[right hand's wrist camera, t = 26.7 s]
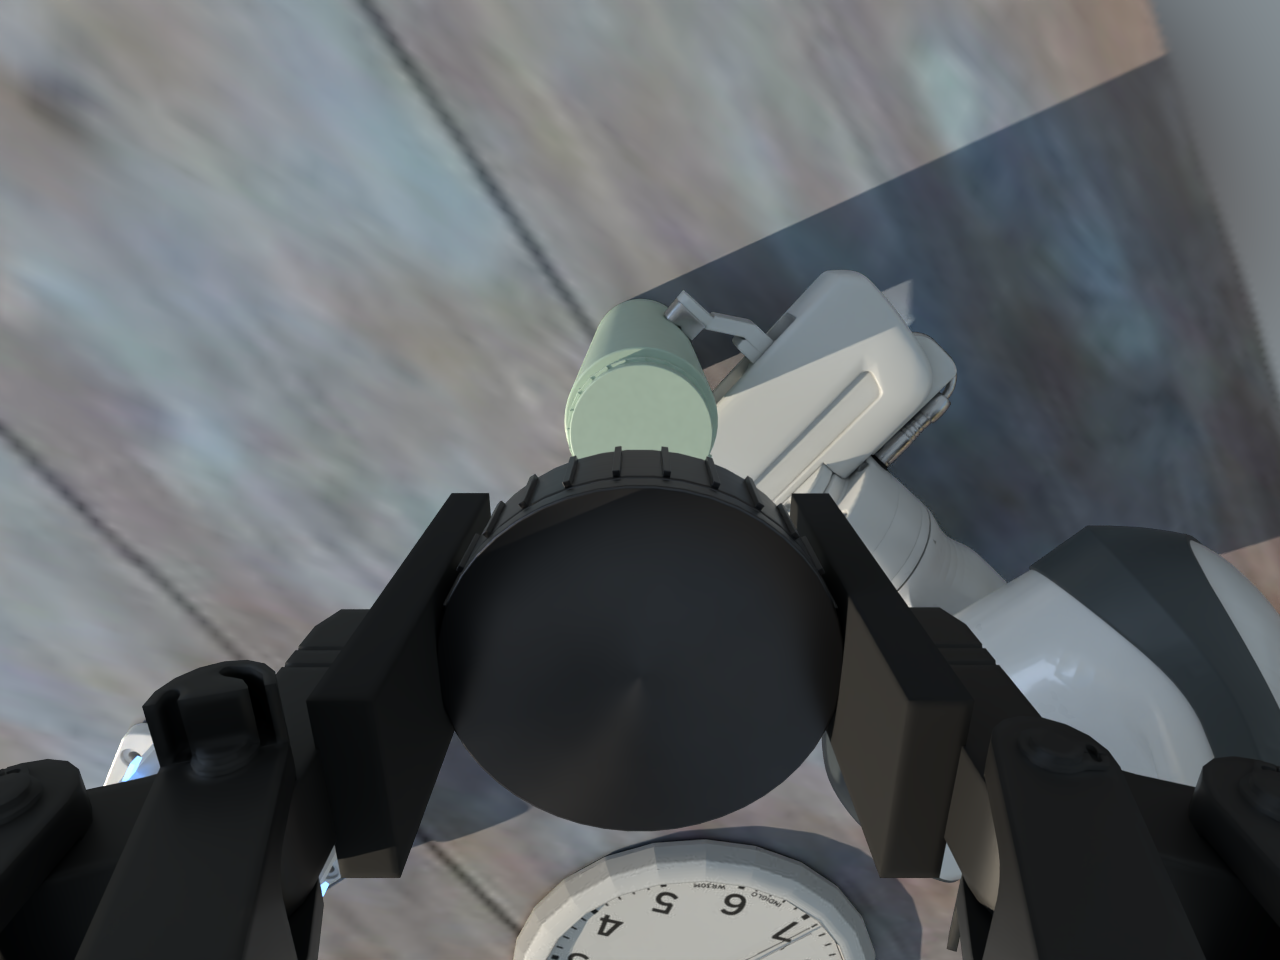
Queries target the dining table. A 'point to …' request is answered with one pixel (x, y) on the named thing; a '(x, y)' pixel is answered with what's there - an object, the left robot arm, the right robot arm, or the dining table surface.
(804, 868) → the wall clock
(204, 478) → the dining table surface
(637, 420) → the bottle
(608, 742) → the lid
